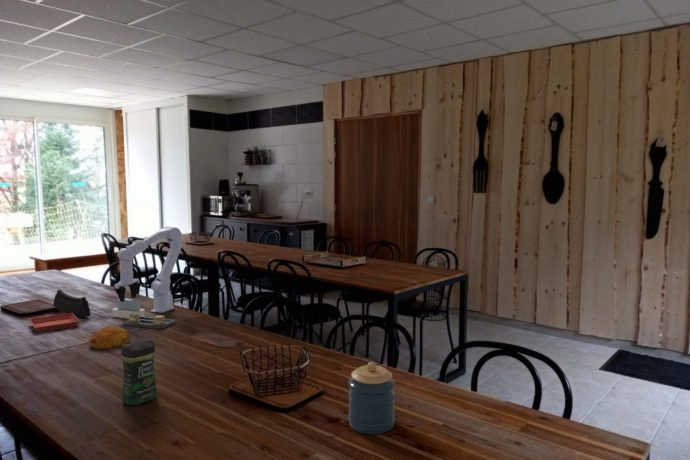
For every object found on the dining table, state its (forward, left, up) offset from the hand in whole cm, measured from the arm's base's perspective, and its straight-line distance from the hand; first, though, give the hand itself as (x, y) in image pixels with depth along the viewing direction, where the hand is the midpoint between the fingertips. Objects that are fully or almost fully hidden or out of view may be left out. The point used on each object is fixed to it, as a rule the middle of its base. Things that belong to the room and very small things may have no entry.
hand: (128, 299), depth 245 cm
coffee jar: (+75, +72, -9) cm, 104 cm away
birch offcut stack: (+10, +12, -9) cm, 18 cm away
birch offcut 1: (+9, +26, -6) cm, 28 cm away
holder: (0, 0, -9) cm, 9 cm away
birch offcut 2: (+10, +26, -9) cm, 29 cm away
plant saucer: (+23, -22, -9) cm, 33 cm away
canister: (+67, +144, -9) cm, 159 cm away
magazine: (+5, -31, -9) cm, 33 cm away
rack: (+8, +19, -9) cm, 22 cm away
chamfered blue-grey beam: (0, 0, -8) cm, 8 cm away
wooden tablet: (+17, +61, -9) cm, 64 cm away
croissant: (+36, +22, -9) cm, 43 cm away
